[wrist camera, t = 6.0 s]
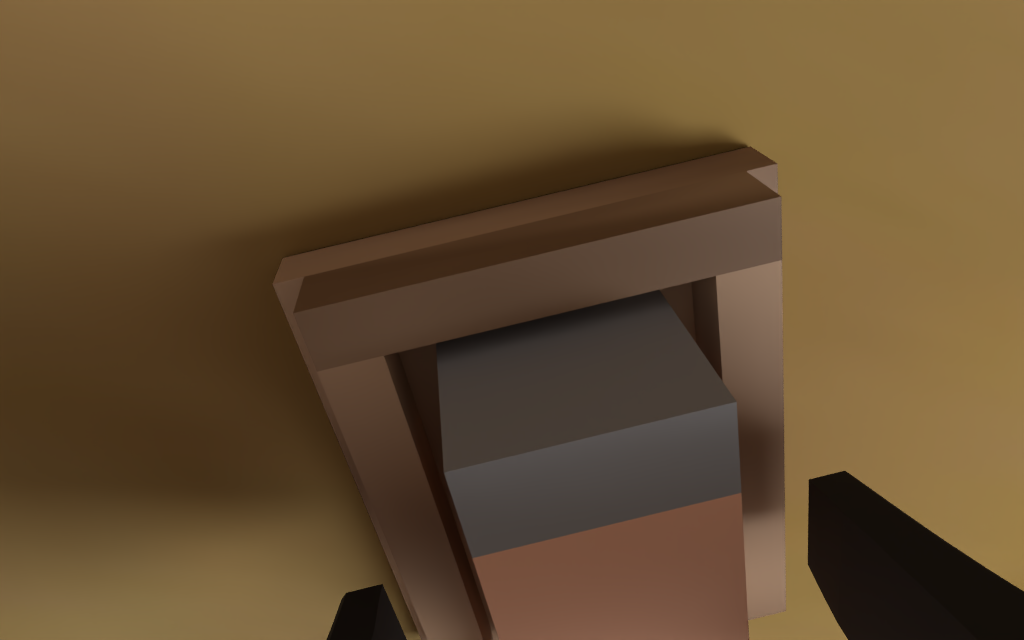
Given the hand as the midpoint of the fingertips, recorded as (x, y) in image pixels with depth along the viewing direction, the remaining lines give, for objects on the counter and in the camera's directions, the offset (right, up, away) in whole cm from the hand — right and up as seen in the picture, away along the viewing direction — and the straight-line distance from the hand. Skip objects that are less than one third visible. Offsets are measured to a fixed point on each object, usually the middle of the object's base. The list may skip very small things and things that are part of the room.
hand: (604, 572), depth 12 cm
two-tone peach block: (0, +1, +2) cm, 2 cm away
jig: (0, +2, +2) cm, 3 cm away
